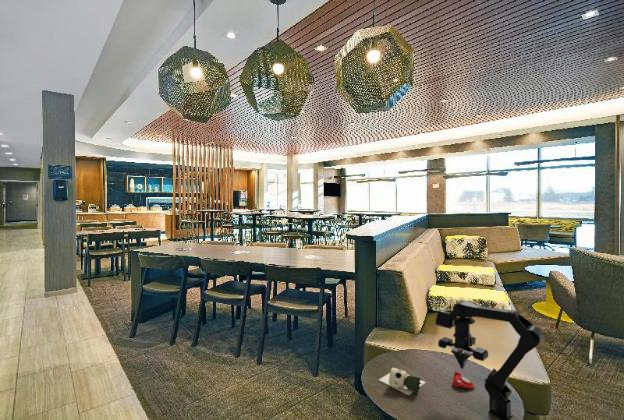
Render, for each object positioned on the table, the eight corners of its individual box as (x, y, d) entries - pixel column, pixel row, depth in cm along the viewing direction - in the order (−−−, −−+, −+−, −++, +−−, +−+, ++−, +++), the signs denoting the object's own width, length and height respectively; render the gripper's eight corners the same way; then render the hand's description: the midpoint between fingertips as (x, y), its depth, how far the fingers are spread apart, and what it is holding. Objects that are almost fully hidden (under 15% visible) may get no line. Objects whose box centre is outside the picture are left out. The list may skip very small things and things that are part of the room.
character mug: (417, 387, 136) (387, 376, 143) (417, 401, 138) (387, 390, 144) (423, 371, 145) (394, 361, 152) (422, 384, 147) (394, 374, 153)
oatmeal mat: (425, 383, 149) (425, 382, 149) (408, 395, 140) (408, 394, 140) (395, 370, 161) (395, 369, 161) (378, 380, 152) (378, 379, 152)
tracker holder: (479, 385, 145) (465, 386, 141) (476, 394, 146) (461, 395, 141) (458, 367, 156) (443, 367, 152) (454, 375, 157) (440, 375, 152)
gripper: (493, 332, 135) (493, 369, 135) (449, 320, 149) (449, 354, 149) (482, 340, 128) (482, 379, 128) (437, 327, 142) (437, 362, 142)
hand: (462, 368), depth 137 cm, fingers closed
